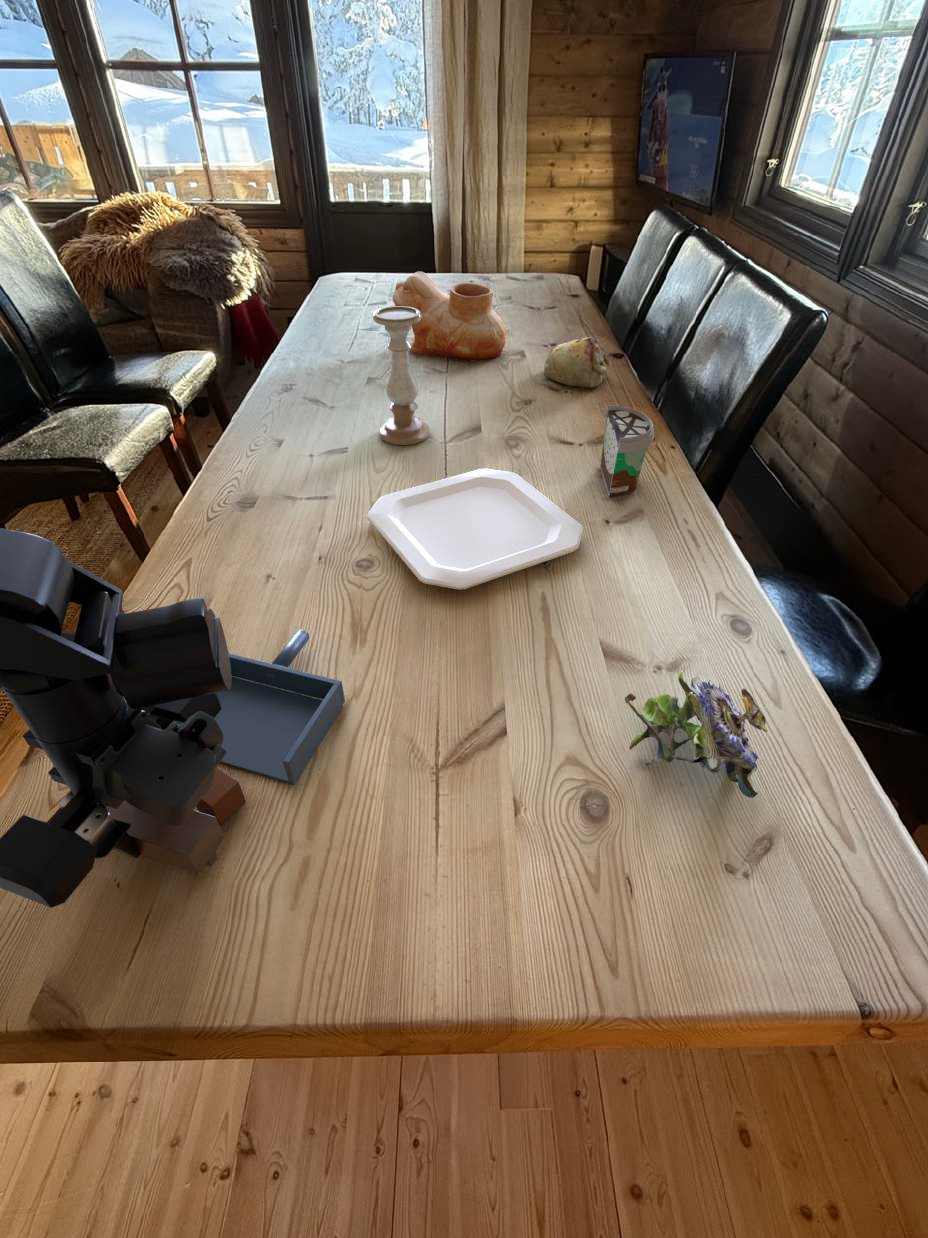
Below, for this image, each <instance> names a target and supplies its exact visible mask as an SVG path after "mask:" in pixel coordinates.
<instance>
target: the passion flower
mask: <svg viewBox="0 0 928 1238" xmlns="http://www.w3.org/2000/svg"><path fill="white" fill-rule="evenodd" d="M684 673H685V671H684V670H680V671H679V672H678V677H677V680H678V683H679V685H680V687H681V688H682V690H683V692H684V695H685V699H684V701H683V704H682V707H680V705H679V704H678V702H679V701H678V700H679V697H677V695H673V696H671V695H670V694H668V693H663V694H662V695H659V696H656V697H655V698H654V697H648V698H647V700H646V702H645V703H644V706H643V708H642V710H641V711H640V713H639V711H638V710H637V709H636V707H635V706H634V704H632V703H631V702H633V701H635V700H636V699H637V698H636V697H637V696H635V695H634V694H633V693H631V692H630V693H629V694H627V695H626V696H624V703H625V704H628V706H629V707H630V708H631V710H632V711H633V713H635V714H636V716H637V717H638V718H639V719H640V720H641V721H642V722H643V723H644V724H645V726H646V729H645V730H643V732H641V733H640V734H637V735H636V736H635V737H634V738H633V740H631V742H630V746H629V748H628V750H629V751H632V749H634V748H635V747H636V746H637V745H639V744H640V743H641V742H642V741H644V740H645V739H649V738H654V739H655V740H656V741H657V746H656V748H655V750H654V755H653V757H652V759H650V760H649V761H647V762H645V763H644V764H645V766H646V767H647V766H649V765H653V764H655V763H658V762H667V763H671V762H673V761H674V760H678V761H687V762H690V763H692V764H693V763H694V764H696V763H698V764H700V766H701V767H702V768H703V769H707V770H708V771H709V772H710V773H712V774H713V773H718V772H719V773H720V770H721V769H722V768H723V766H724V767H725V771H726V772H725V773H726V775H727V777H728V780H729V781H731V782H732V783H736V784H737V786H738V790H739V791H740V792H741V794H743V795H744V796H745V797H747V798H749V799H754V798H755V797H756V796H757V795H758V794H759V792H758V791H757V790H756V788H755V787H754V784H753V780H752V775H753V773H755V772H756V771H757V770H758V764H757V760H758V759H759V757H758V754H757V753H755V751H753V749H752V748H751V745H750V744H749V738H748V737H746V735H745V732H746V729H745V726H746V725H745V724H746V720H747V721H748V723H749V725H751V726H752V727H753V728H755V729H757V730H759V731H760V730H761V731H763V732H765V733H767V732H768V728H767V726H766V723H767V721H766V717H765V716H764V714H763V712H762V710H761V708H760V707H759V706H758V705H757V703H756V702H755V700H754V697H753V696H752V694H751V693H750V692H749V691H748V690H747V689H746V688H742V689H741V696H742V701H743V705H744V710H745V713H743V714H742V712H741V711H739V710H736V708H734V703H732V697H730V695H729V694H727V693H726V692H725V689H724V688H722V687H721V684H720V683H719V684H718V687H717V686H716V685H715V683H712V684H711V683H710V682H711V679H709V681H708V682H706V681H701V678H700V676H699V675H698V674H697V675H694V676H693V677H692V679H690V683H689V682H688V681H687V680H684V675H683V674H684ZM695 717H696V719H697V721H699V722H700V724H701V725H699V724H694V722H690V720H691V719H692V718H695ZM678 729H681V730H683V731H684V732H685V733H686V735H687V737H688V738H686V739H684V740H683V741H681V742H677V741H676V740H675V734H676V731H677V730H678ZM661 733H664V734H666V735H667V736H668V737H669V740H670V741H669V742H670V743H669V745H668V747H667V746H666V744H665V743H664V741H663V740H662V738H661V737H660V734H661ZM689 741H691V743H692V746H693V747H694V748H695V750H696V752H695V755H694V757H688V756H679V755H676V751H677V749H679V748H680V747H682V746H683V745H686V744H687V743H688V742H689Z"/></svg>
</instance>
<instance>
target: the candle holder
mask: <svg viewBox="0 0 928 1238" xmlns="http://www.w3.org/2000/svg"><path fill="white" fill-rule="evenodd" d="M421 318H422V315H421V312H420V311H419V310H418V309H416V308H413V307H407V306H396V305H391V306H385V307H381V308H378V309H376V310H375V311H373V314H372V320H373V321H374V323H376V324H377V325H381V326H384V330H385V331H386V332H387V334H388V335H389V337H390V339H389V342H388V344H387V346H386V347H387V350H389V351H390V355H391V368H390V369H391V370H390V374H389V377H388V379H387V382H386V386H385V393H386V396H387V398H388V400H389V401H391V402H390V404H389V408H388V409H389V410H390V412H391V413H392V414H393V417H391V418H389V419H387V420H386V421H385V423H383V424H382V426H381V427H380V429H379V437H380V438H381V439H382V441H384V442H386V443H388V444H391V445H396V446H410V445H411V446H412V445H416V444H419V443H421V442H424V441H426V440H427V439H428V438H429V437H430V434H431V429H430V426H429V424H427V423H426V422H425V421H423V419H421V418H420V417H418V416H415V413H416V410H417V409H418V404H417V402H415V401H416V399H417V397H418V395H419V385H418V383H417V381H416V379H415V377H414V375H413V373H412V370H411V366H410V358H409V351H410V350H409V349H410V348H411V345H412V344H411V343H410V341H409V339H408V334H409V332H410V331H411V330H412V326H411V324H415V323H417V322H419V321H420V320H421Z"/></svg>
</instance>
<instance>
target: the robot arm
mask: <svg viewBox="0 0 928 1238" xmlns="http://www.w3.org/2000/svg"><path fill="white" fill-rule="evenodd" d="M123 600H124V591H123V590H122V589H121V588H119V587H117V586H116V585H113V584H112V583H110V582H109V581H106V580H105V579H103V578H101V577H100V576H98V575H96V574H94V573H92V572H90V571H89V570H87V569H85V568H84V567H82V566H80V565H78V564H76V563H75V562H73V561H71V560H69V559H68V558H66V556H65V555H64V553H63V550H62V549H61V547H59V546H58V545H56V544H55V543H54V542H52V541H50V540H48V539H46V538H45V537H41V536H39V535H37V534H32V533H29V532H24V531H19V530H13V529H9V528H2V527H0V689H1V690H2V691H3V692H4V693H5V695H6V697H7V699H8V700H9V701H10V703H11V704H12V706H13V707H14V708H15V709H16V711H17V713H18V714H19V716H20V718H21V719H22V720H23V722H24V723H25V725H26V726H27V728H28V730H27V731H26V732H24V733H23V734H22V738H23V739H24V741H25V742H26V744H27V745H28V746H29V747H33V748H36V749H40V750H43V751H44V753H45V755H46V756H47V757H48V759H49V760H50V762H51V763H52V765H53V767H52V768H51V769H50V770H49V771H48V772H47V773H48V775H49V776H50V778H51V779H52V781H53V782H56V783H58V784H61V785H64V786H67V787H68V789H69V791H68V792H67V793H65V794H64V796H63V797H62V798H61V800H59V802H58V806H59V808H58V809H57V810H56V811H55V812H54V814H52V816H51V817H50V818H49V819H48V820H47V821H44V820H41V819H38V818H35V817H32V816H30V815H27V814H22V815H21V816H20V817H19V818H18V819H17V820H16V821H15V822H14V823H12V825H11V826H10V827H9V828H8V829H7V830H6V831H5V832H4V833H3V834H2V835H1V836H0V889H2V890H5V891H7V892H10V893H13V894H15V895H17V896H20V897H23V898H25V899H27V900H30V901H32V902H35V903H38V904H40V905H42V906H45V907H48V908H51V909H52V908H55V907H57V906H60V905H62V904H65V903H66V902H67V900H68V899H69V898H70V897H71V896H72V895H73V893H74V892H75V891H76V890H77V888H78V887H79V886H80V885H81V883H82V882H83V881H84V879H86V877H87V876H88V875H89V873H91V871H92V870H93V869H94V866H95V861H96V860H100V859H103V858H105V857H107V856H108V855H109V854H110V853H111V852H112V851H113V850H114V851H116V852H119V853H121V854H123V855H126V856H128V857H130V858H134V859H135V860H136V859H137V860H138V859H140V857H141V854H140V851H139V849H138V846H137V845H136V844H135V842H134V841H133V840H132V838H131V837H130V836H129V834H128V833H127V831H128V829H129V828H130V827H131V824H129V823H126V822H123V821H120V820H117V819H114V818H112V817H111V815H110V812H109V808H110V807H111V808H114V809H118V807H119V806H120V805H121V804H122V803H123V801H125V800H126V802H127V803H129V804H130V805H132V806H134V807H136V808H138V809H140V810H142V811H144V812H146V813H148V814H150V815H152V816H154V817H156V818H157V819H159V820H160V821H161V822H163V823H165V824H167V825H172V826H175V825H179V824H182V823H183V822H185V821H186V820H187V819H188V817H189V816H190V815H191V813H192V811H193V810H195V809H196V808H197V807H196V806H197V804H198V803H199V801H200V800H201V799H202V797H203V796H204V795H205V793H206V792H207V791H208V790H209V789H210V788H211V786H212V785H213V782H214V773H215V768H216V767H217V768H218V766H219V765H220V764H221V763H220V762H221V760H222V759H223V758H224V756H225V755H226V754H227V751H226V750H225V749H224V748H223V747H222V746H221V744H222V743H223V733H222V731H221V729H220V727H219V725H218V723H217V721H216V719H215V717H216V716H217V714H218V713H219V712H220V711H221V709H222V708H221V705H220V702H219V699H218V696H217V694H216V693H217V692H222V691H227V690H230V689H231V685H232V677H233V676H231V666H230V659H229V654H228V653H229V649H228V644H227V639H226V635H225V631H224V629H223V625H222V622H221V619H220V617H219V616H218V617H217V616H216V615H215V612H214V611H213V609H212V608H208V606H207V604H206V600H205V599H204V598H202V597H196V598H195V597H194V598H190V599H185V600H181V601H178V602H176V603H172V604H169V605H165V606H160V607H155V608H148V609H143V610H138V611H131V612H126V613H125V611H124V608H123ZM70 603H71V604H72V603H73V604H75V605H80V611H79V614H78V619H77V624H76V628H75V631H63V630H64V626H65V621H66V617H67V614H68V609H69V606H70ZM148 713H150V714H149V715H148ZM175 720H176V721H179V722H183V723H184V724H182V725H178V724H177V723H175V722H174V721H175Z"/></svg>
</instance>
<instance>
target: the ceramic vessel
mask: <svg viewBox="0 0 928 1238" xmlns="http://www.w3.org/2000/svg"><path fill="white" fill-rule="evenodd" d="M493 297H494V290H493V288H491V287H489V286H487V285H483V284H479V283H476V282H475V283H474V282H459V283H455V284H452V285H451V286H450V288H449V293H448V292H446V293H445V292H442V291H441V290H440V288H439V287H438V285H437V283H435V281H434V280H433V279H432V278H431V277H430V276H429V275H428V274H427V273H425V272H424V271H416V272H414V273H412V274H411V275H409V276H408V277H406V279H405V280H404V281H399V282H397V283H396V285H395V289H394V291H393V293H392V297H391V298H392V302H393V304H394V306H407V307H413V308H416V309H418V310H419V311H420V312H421V315H422V318H421V320H420V321H419V322H417V323H415V324H411V330H412V333H413V341H412V343H411V344H410V345H411V348H410V349H409V350H408V351H409V353H411V354H415V355H424V356H431V357H439V358H445V359H450V360H456V361H458V362H468V363H470V362H478V361H485V360H494V359H497V358H499V357H501V354H502V353H503V350H504V348H505V346H506V343H507V337H506V336H507V330H506V326H505V324H504V322H503V320H502V318H501V317H500V316H499V315H498V314H497V313H496V312H495V311H494V310H493V309H492V304H493Z"/></svg>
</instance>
